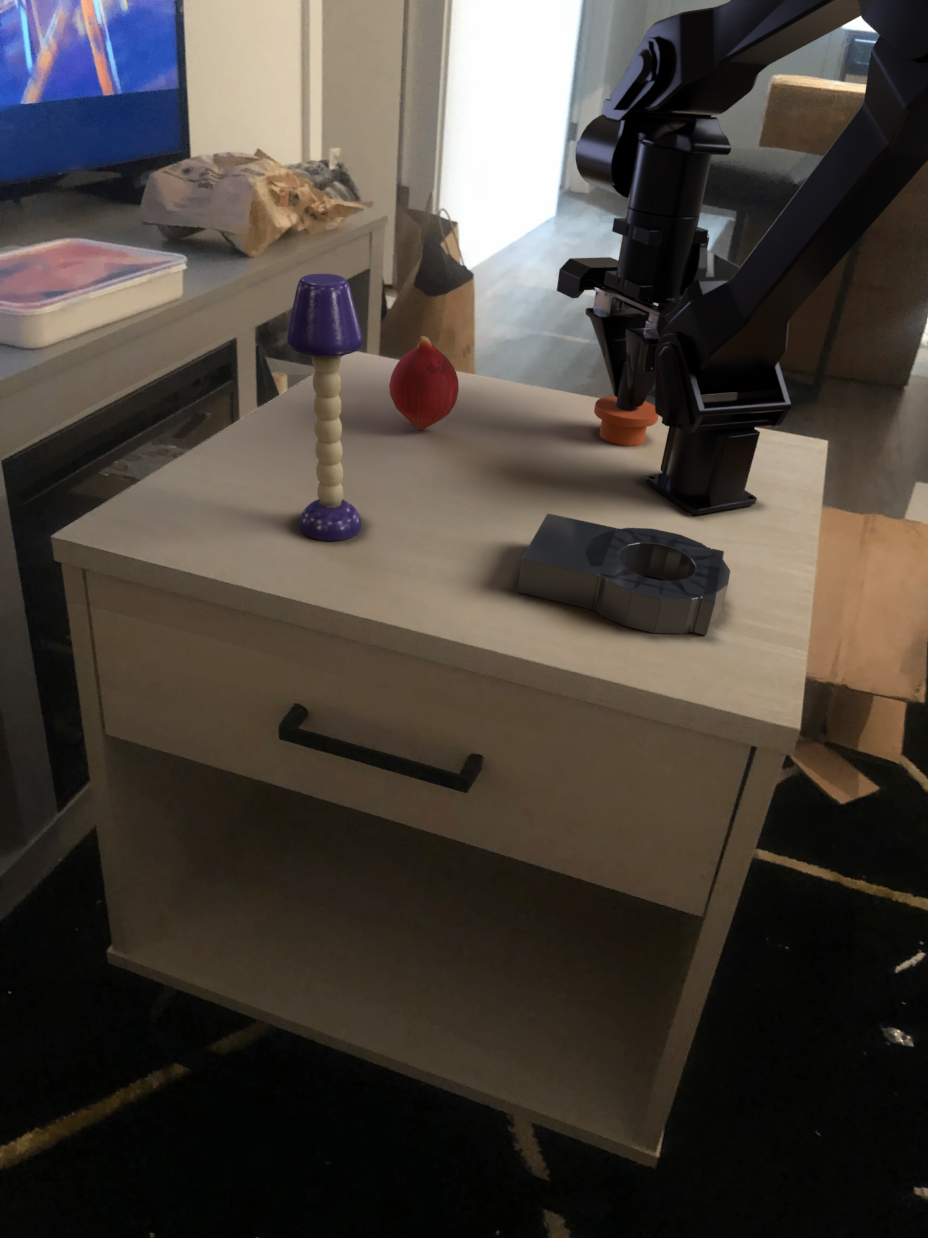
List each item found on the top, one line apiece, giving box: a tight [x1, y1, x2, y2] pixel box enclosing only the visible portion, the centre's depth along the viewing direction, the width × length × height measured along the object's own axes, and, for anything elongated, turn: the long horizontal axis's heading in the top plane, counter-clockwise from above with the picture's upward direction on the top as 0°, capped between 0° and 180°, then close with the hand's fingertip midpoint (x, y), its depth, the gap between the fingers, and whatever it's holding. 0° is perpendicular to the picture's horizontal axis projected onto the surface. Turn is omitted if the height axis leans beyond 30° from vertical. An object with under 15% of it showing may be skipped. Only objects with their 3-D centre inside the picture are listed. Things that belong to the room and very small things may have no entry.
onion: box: [388, 335, 460, 431], centre depth 80 cm, size 6×6×8 cm
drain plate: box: [517, 513, 731, 636], centre depth 61 cm, size 13×9×2 cm
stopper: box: [593, 362, 659, 447], centre depth 83 cm, size 6×6×7 cm
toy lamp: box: [286, 273, 364, 542], centre depth 61 cm, size 5×5×17 cm
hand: (628, 401), depth 83 cm, fingers closed on stopper
